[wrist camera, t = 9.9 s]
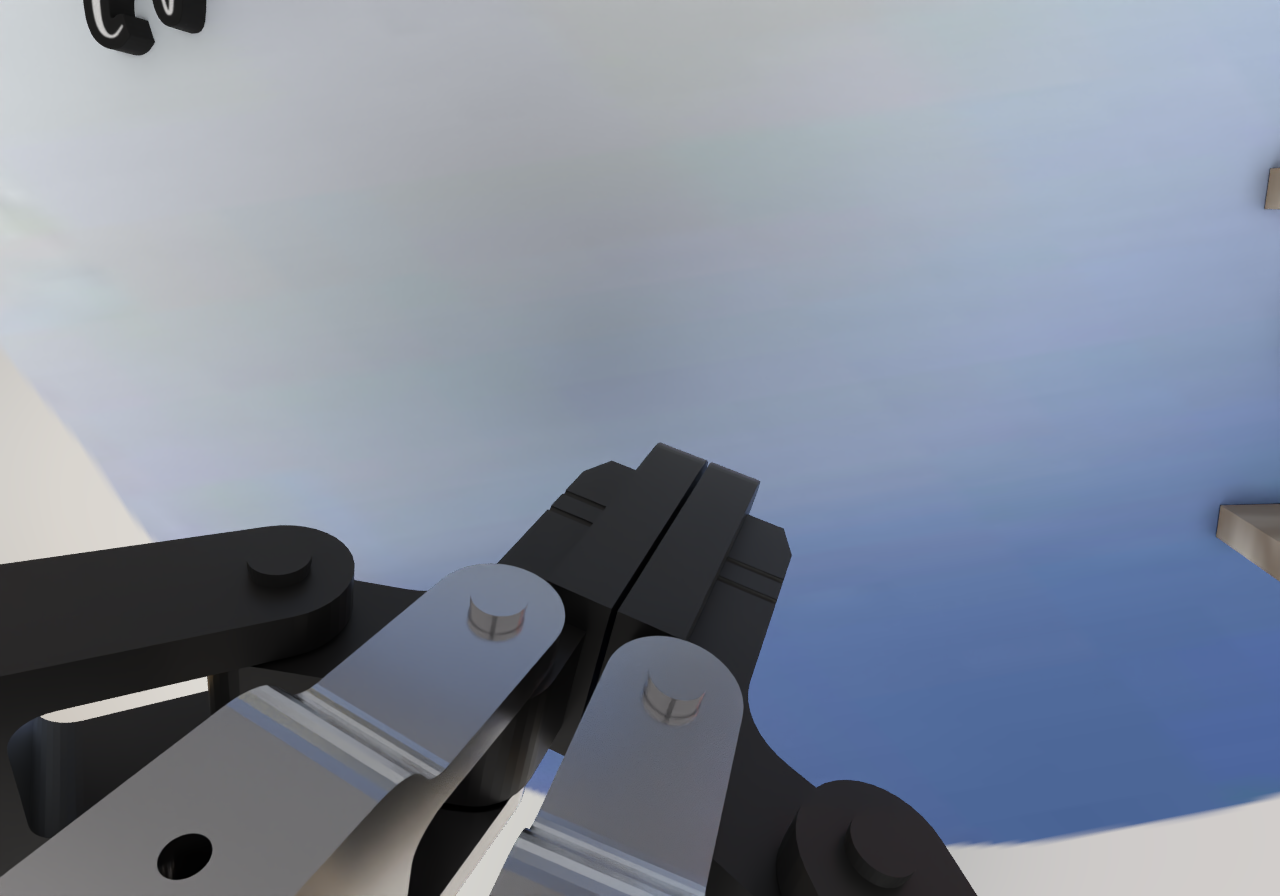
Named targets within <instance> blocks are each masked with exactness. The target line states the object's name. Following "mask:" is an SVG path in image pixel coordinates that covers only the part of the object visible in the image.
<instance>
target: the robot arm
mask: <svg viewBox="0 0 1280 896" xmlns="http://www.w3.org/2000/svg"><path fill="white" fill-rule="evenodd" d="M707 465H708V461H707V460H704V459H701V458H699V457H696V456H694V455H691V454H689V453H686V452H683V451H681V450H678V449H676V448H673V447H670V446H668V445H665V444H663V443H658V444H657V445H656V446H655V447H654V448H653V450H652V451H651V452H650V453H649V455H648V456H647V457H646V458H645V459H644V461H643V462H642V463H641V464H640V466H639V467H638V468H637V469H636V470H634V469H631V468H629V467H626V466H624V465H621V464H619V463H616V462H614V461H610V462H607V463H605V464H602V465H599V466H597V467H594V468H591V469H589V470H586V471H583V472H582V473H581V475H580V476H579V477H578V478H577V479H576V480H575V481H574V482H573V483H572V484H571V485H570V486H569V487H568V488H567V489H566V492H565V494H562V495H561V496H560V497H559V498H558V499H557V500H556V501H555V502H554V503H553V504H552V506H551V508H550V510H547V511H546V512H545V513H544V514H543V515H542V516H541V517H540V518H539V519H538V520H537V522H536V523H535V524H534V525H533V526H532V527H531V528H530V529H529V530H528V531H527V532H526V533H525V534H524V535H523V536H522V538H521V539H520V540H519V541H518V542H517V543H516V544H515V545H514V546H513V547H512V548H511V549H510V550H509V551H508V552H507V554H506V555H505V556H504V557H503V558H502V559H501V560H500V561H499V562H498V563H497V564H478V565H472V566H468V567H464V568H461V569H458V570H456V571H454V572H452V573H450V574H448V575H447V576H446V577H444V578H443V579H441V580H440V581H439V582H438V583H437V584H435V585H434V586H433V587H432V588H431V589H429V590H428V591H416V590H408V589H402V588H396V587H390V586H385V585H379V584H373V583H368V582H362V581H356V580H354V560H353V556H352V554H351V553H350V551H349V549H348V548H347V547H346V546H345V545H344V544H343V543H342V542H341V541H339V540H338V539H337V538H335V537H333V536H331V535H329V534H328V533H325V532H322V531H319V530H317V529H312V528H308V527H302V526H287V525H280V526H269V527H261V528H254V529H247V530H240V531H233V532H226V533H219V534H212V535H205V536H198V537H191V538H184V539H177V540H170V541H163V542H156V543H148V544H142V545H135V546H127V547H120V548H113V549H107V550H99V551H93V552H85V553H78V554H71V555H64V556H57V557H50V558H43V559H36V560H29V561H22V562H15V563H8V564H0V896H455V895H456V894H457V893H458V891H459V890H460V888H461V887H462V885H463V884H464V883H465V881H466V880H467V878H468V877H469V876H470V874H471V873H472V871H473V870H474V868H475V867H476V866H477V864H478V863H479V861H480V860H481V859H482V857H483V856H484V854H485V853H486V851H487V850H488V849H489V847H490V846H491V844H492V843H493V842H494V840H495V839H496V837H497V836H498V834H499V833H500V832H501V830H502V828H503V827H504V826H505V825H506V823H507V821H508V820H509V819H510V817H511V816H512V815H513V813H514V812H515V810H516V809H517V807H518V805H519V804H520V802H521V800H522V797H523V794H524V790H525V786H526V784H527V783H528V781H529V780H530V779H531V777H532V775H533V774H534V772H535V770H536V769H537V767H538V765H539V764H540V762H541V760H542V759H543V757H544V755H545V754H546V752H547V750H548V749H551V750H553V751H555V752H557V753H559V754H561V755H563V756H564V758H563V761H562V763H561V765H560V767H559V769H558V771H557V774H556V776H555V778H554V780H553V782H552V785H551V787H550V789H549V791H548V793H547V795H546V798H545V800H544V802H543V804H542V806H541V809H540V811H539V813H538V815H537V817H536V819H535V821H534V823H533V824H532V826H531V828H530V829H528V828H525V829H524V830H523V831H522V833H521V834H520V836H519V837H518V839H517V841H516V842H515V844H514V846H513V848H512V850H511V852H510V854H509V855H508V858H507V860H506V862H505V864H504V866H503V868H502V870H501V872H500V875H499V876H498V878H497V881H496V883H495V885H494V887H493V889H492V891H491V893H490V895H489V896H977V895H976V893H975V892H974V890H973V889H972V887H971V885H970V884H969V882H968V880H967V879H966V877H965V876H964V874H963V873H962V871H961V870H960V868H959V866H958V865H957V863H956V862H955V860H954V859H953V857H952V856H951V854H950V852H949V851H948V849H947V848H946V846H945V845H944V843H943V841H942V840H941V839H940V837H939V836H938V835H937V833H936V832H935V830H934V829H933V828H932V827H931V826H930V824H929V823H928V822H927V821H926V820H925V819H924V818H923V817H922V816H921V815H920V814H919V813H918V812H917V811H915V810H914V809H913V808H912V807H911V806H910V805H908V804H907V803H905V802H904V801H903V800H901V799H900V798H899V797H897V796H895V795H893V794H891V793H890V792H888V791H886V790H884V789H881V788H879V787H877V786H874V785H871V784H868V783H864V782H860V781H852V780H837V781H832V782H828V783H824V784H823V785H821V786H819V787H817V788H816V787H815V786H813V785H812V784H811V783H810V782H808V781H807V780H806V779H805V778H803V777H802V776H801V775H800V774H798V773H797V772H796V771H795V770H793V769H792V768H791V767H790V766H789V765H787V764H786V763H785V762H784V761H783V760H782V759H781V758H780V757H778V756H777V755H776V753H775V752H774V751H773V750H772V749H771V748H770V747H769V746H768V744H767V743H766V742H765V740H764V739H763V737H762V736H761V735H760V733H759V731H758V729H757V727H756V725H755V723H754V721H753V718H752V716H751V713H750V709H749V703H748V689H749V684H750V680H751V677H752V674H753V671H754V668H755V665H756V662H757V659H758V656H759V653H760V650H761V647H762V644H763V641H764V638H765V635H766V632H767V629H768V626H769V623H770V620H771V617H772V614H773V611H774V608H775V604H776V601H777V598H778V595H779V592H780V589H781V586H782V583H783V580H784V577H785V574H786V571H787V568H788V565H789V562H790V559H791V556H792V555H791V551H790V548H789V545H788V541H787V538H786V535H785V532H784V529H783V528H780V527H778V526H775V525H773V524H770V523H768V522H765V521H763V520H760V519H758V518H755V517H753V516H750V515H749V513H750V510H751V507H752V504H753V502H754V499H755V496H756V493H757V491H758V488H759V484H760V481H759V480H756V479H754V478H751V477H748V476H746V475H743V474H741V473H738V472H736V471H733V470H730V469H728V468H725V467H723V466H720V465H717V464H715V463H712V462H711V463H710V464H709V466H708V467H707ZM206 676H207V679H208V691H205V692H201V693H196V694H192V695H188V696H184V697H180V698H176V699H172V700H167V701H163V702H159V703H155V704H151V705H146V706H142V707H138V708H134V709H130V710H126V711H121V712H117V713H113V714H109V715H105V716H100V717H97V718H92V719H88V720H84V721H79V722H72V723H58V722H51V721H48V720H45V719H43V718H41V717H40V716H41V715H44V714H47V713H51V712H54V711H58V710H63V709H67V708H71V707H75V706H80V705H84V704H89V703H93V702H97V701H102V700H106V699H110V698H115V697H119V696H123V695H128V694H132V693H136V692H141V691H145V690H149V689H153V688H158V687H162V686H167V685H171V684H175V683H180V682H184V681H189V680H192V679H197V678H201V677H206Z"/></svg>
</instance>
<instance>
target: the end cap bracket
mask: <svg viewBox="0 0 1280 896" xmlns="http://www.w3.org/2000/svg"><path fill="white" fill-rule="evenodd" d="M1265 209H1280V168H1271V169H1270V176H1269V183H1268V190H1267V196H1266V203H1265ZM1216 537H1217V538H1219V539H1220V540H1222V541H1223V542H1224V543H1226V544H1227V545H1229V546H1230V547H1231V548H1233V549H1234V550H1236V551H1237V552H1239V553H1240V554H1241V555H1243V556H1244V557H1246V558H1247V559H1248V560H1250V561H1251V562H1253V563H1254V564H1256V565H1257V566H1258V567H1260V568H1261V569H1263V570H1264V571H1265V572H1267V573H1268V574H1270V575H1271V576H1273V577H1274V578H1275V579H1277V580H1278V581H1280V504H1254V505H1221V507H1220V514H1219V521H1218V527H1217V534H1216Z"/></svg>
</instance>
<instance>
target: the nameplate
mask: <svg viewBox="0 0 1280 896" xmlns="http://www.w3.org/2000/svg"><path fill="white" fill-rule="evenodd" d="M83 3H84V10H85V16H86V20H87V24H88V27H89V29H90V32H91V34H92V35H93V37H94V38H95V40H96V41H97V42H98V43H99V44H101V45H102V46H104V47H106V48H109V49H113V50H117V51H121V52H125V53H129V54H133V55H143V54H145V53H147V52H148V51H149V50H150V49H151V47H152V46H153V45H154V43H155V41H154V38H153V35H152V32H151V29H150V26H149V22H148V21H146V20H143V19H140V18H137V17H135V12H134V0H83ZM153 4H154V8H155V11H156V13H157V15H158V17H159V19H160V20H161V21H162V22H163V23H164V24H165V25H167V26H169V27H173V28H176V29H179V30H182V31H186V32H189V33H199V32H200V31H201V30H202V29H203V27H204V23H205V16H206V0H153Z"/></svg>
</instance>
